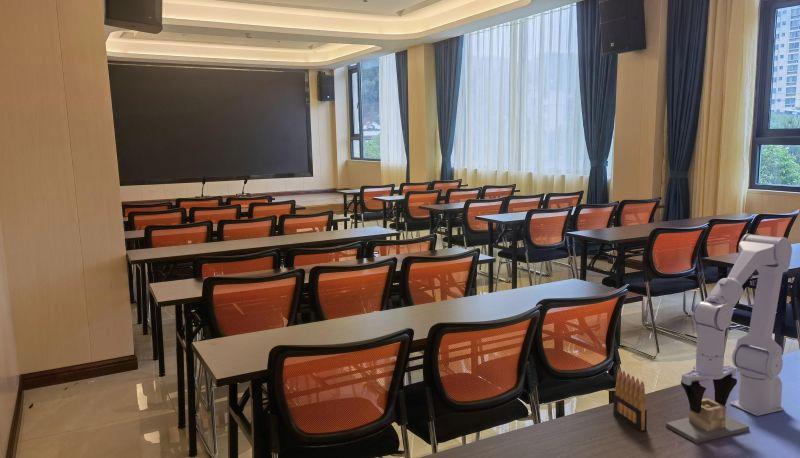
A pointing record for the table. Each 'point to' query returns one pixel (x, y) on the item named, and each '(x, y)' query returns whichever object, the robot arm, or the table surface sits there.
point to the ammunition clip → (630, 401)
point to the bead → (709, 415)
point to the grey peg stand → (702, 435)
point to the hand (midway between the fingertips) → (707, 408)
